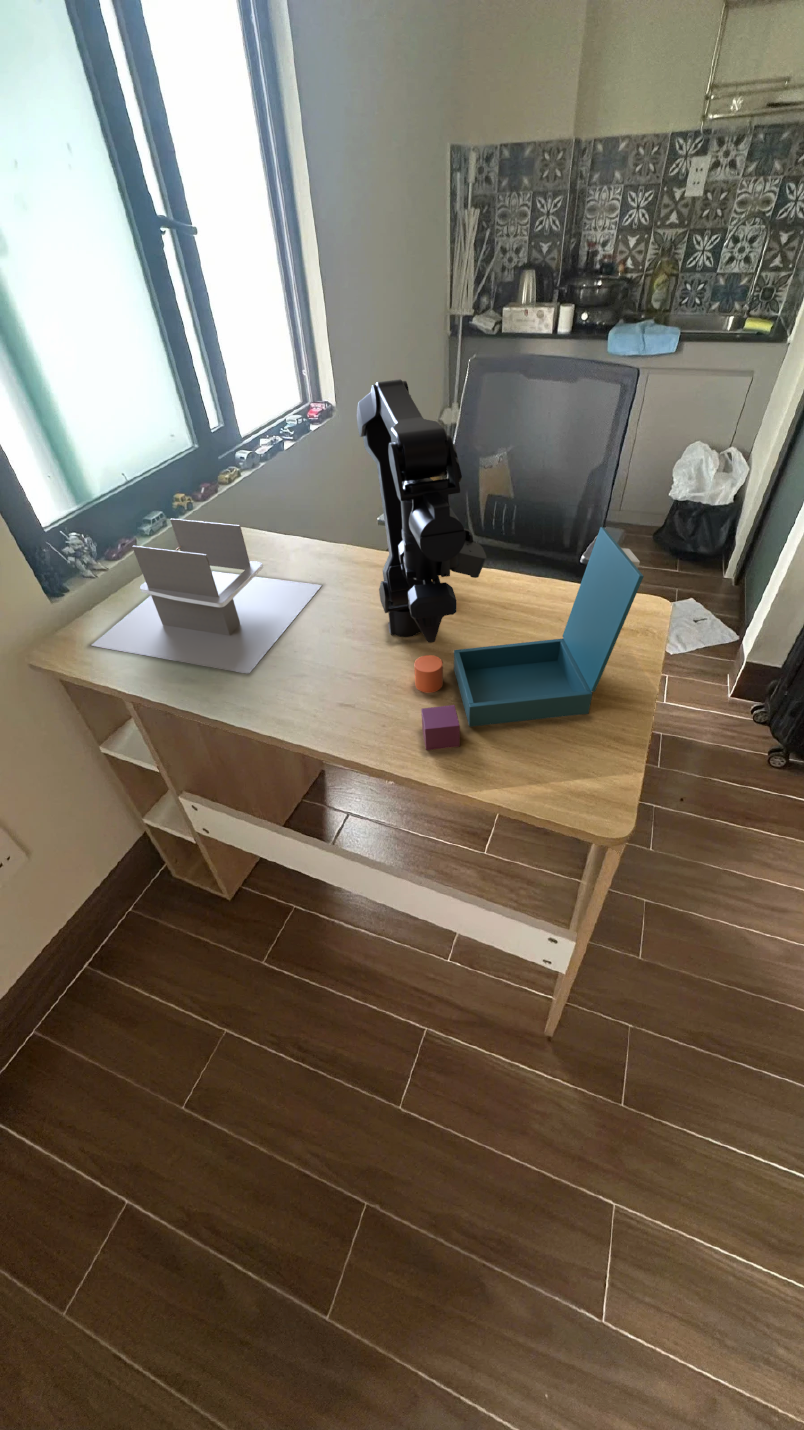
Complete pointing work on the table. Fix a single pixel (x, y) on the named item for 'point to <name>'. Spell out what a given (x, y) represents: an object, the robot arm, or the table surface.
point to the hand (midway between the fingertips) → (427, 624)
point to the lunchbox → (520, 682)
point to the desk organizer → (207, 602)
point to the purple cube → (440, 727)
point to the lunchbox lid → (601, 606)
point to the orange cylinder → (428, 673)
